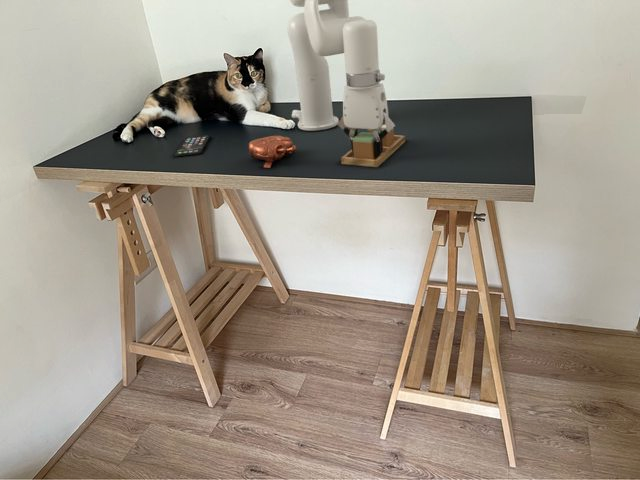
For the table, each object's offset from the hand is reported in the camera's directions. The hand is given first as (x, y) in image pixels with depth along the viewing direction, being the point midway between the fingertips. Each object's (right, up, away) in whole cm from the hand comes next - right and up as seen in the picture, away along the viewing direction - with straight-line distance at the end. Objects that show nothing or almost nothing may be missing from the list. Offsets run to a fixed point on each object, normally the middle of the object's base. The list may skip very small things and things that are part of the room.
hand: (367, 154), depth 121 cm
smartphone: (-49, +6, +24) cm, 55 cm away
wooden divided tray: (+2, +1, +4) cm, 5 cm away
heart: (-23, 0, +7) cm, 24 cm away
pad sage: (0, -1, 0) cm, 1 cm away
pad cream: (+4, +4, +7) cm, 9 cm away
